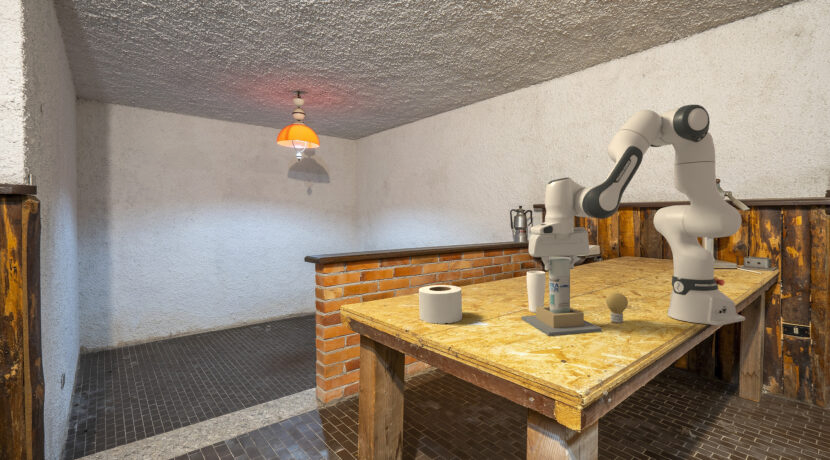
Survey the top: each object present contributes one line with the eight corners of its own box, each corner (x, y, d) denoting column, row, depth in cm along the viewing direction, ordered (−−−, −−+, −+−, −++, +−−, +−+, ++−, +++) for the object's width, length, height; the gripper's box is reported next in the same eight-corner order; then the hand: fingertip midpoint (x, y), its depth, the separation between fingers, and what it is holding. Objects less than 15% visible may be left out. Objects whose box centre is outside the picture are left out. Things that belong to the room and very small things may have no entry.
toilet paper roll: (410, 318, 133) (410, 288, 133) (439, 309, 143) (439, 282, 143) (441, 327, 122) (440, 295, 121) (470, 317, 132) (470, 288, 132)
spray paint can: (545, 317, 124) (544, 258, 123) (562, 316, 125) (562, 257, 124) (556, 322, 117) (556, 260, 117) (574, 321, 119) (574, 259, 118)
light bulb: (631, 324, 120) (632, 294, 119) (612, 325, 120) (612, 295, 119) (620, 319, 126) (620, 290, 126) (602, 319, 126) (602, 291, 126)
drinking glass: (549, 312, 137) (549, 272, 136) (536, 314, 134) (536, 274, 133) (535, 308, 143) (535, 270, 142) (522, 310, 140) (522, 271, 139)
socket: (567, 315, 132) (567, 301, 132) (601, 331, 114) (601, 315, 114) (521, 319, 129) (521, 305, 128) (549, 335, 111) (549, 319, 111)
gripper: (581, 226, 125) (581, 266, 126) (526, 228, 121) (526, 269, 122) (593, 227, 119) (593, 269, 119) (535, 228, 115) (536, 272, 116)
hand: (559, 269), depth 121 cm, fingers closed on spray paint can, 6 cm apart
